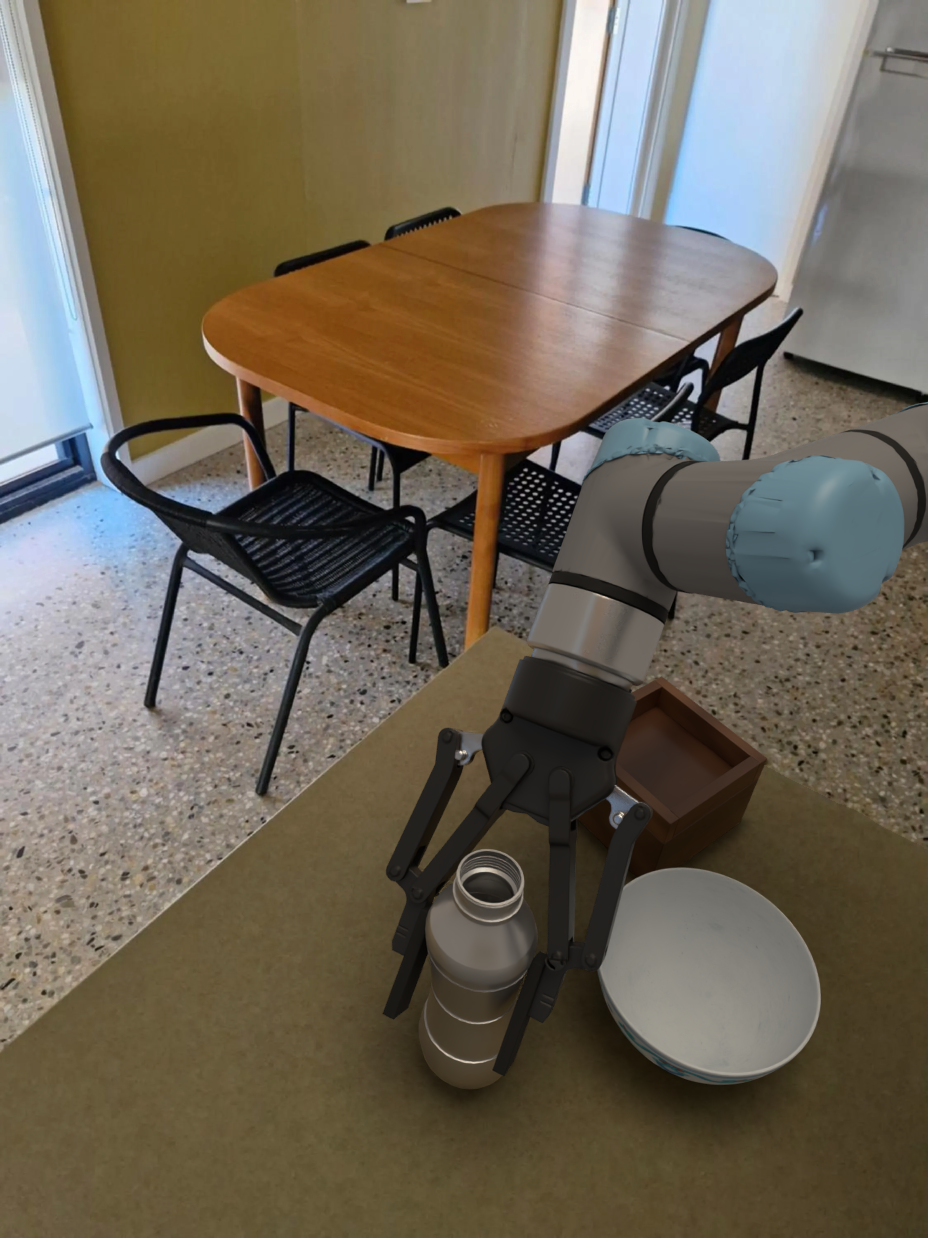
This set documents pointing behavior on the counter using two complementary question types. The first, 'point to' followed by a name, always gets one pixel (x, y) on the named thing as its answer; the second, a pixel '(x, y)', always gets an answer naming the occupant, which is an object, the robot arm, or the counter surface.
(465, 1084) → the metal bottle
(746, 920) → the chinaware
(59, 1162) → the counter surface
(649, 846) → the walnut box
